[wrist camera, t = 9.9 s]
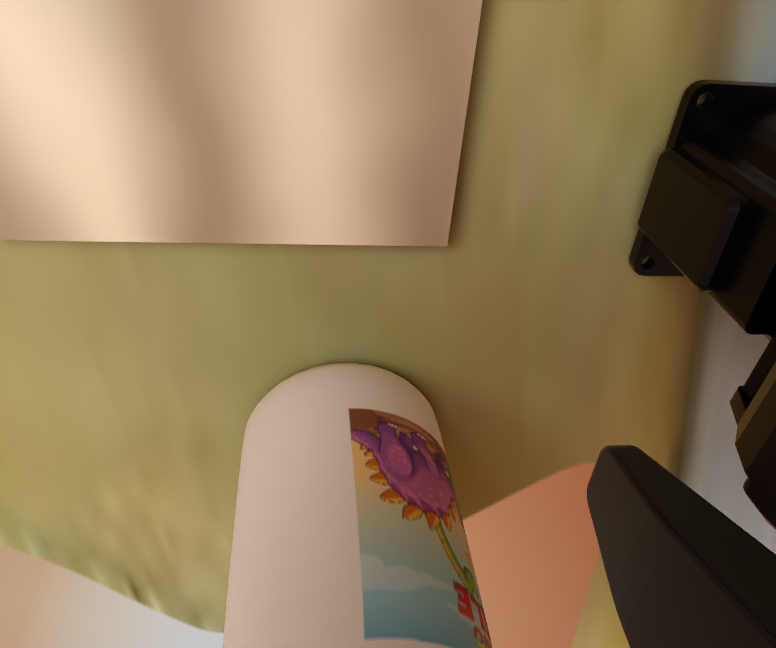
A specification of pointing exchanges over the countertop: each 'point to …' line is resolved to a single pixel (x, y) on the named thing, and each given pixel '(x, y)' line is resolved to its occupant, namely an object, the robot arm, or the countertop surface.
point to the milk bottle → (349, 521)
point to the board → (233, 120)
